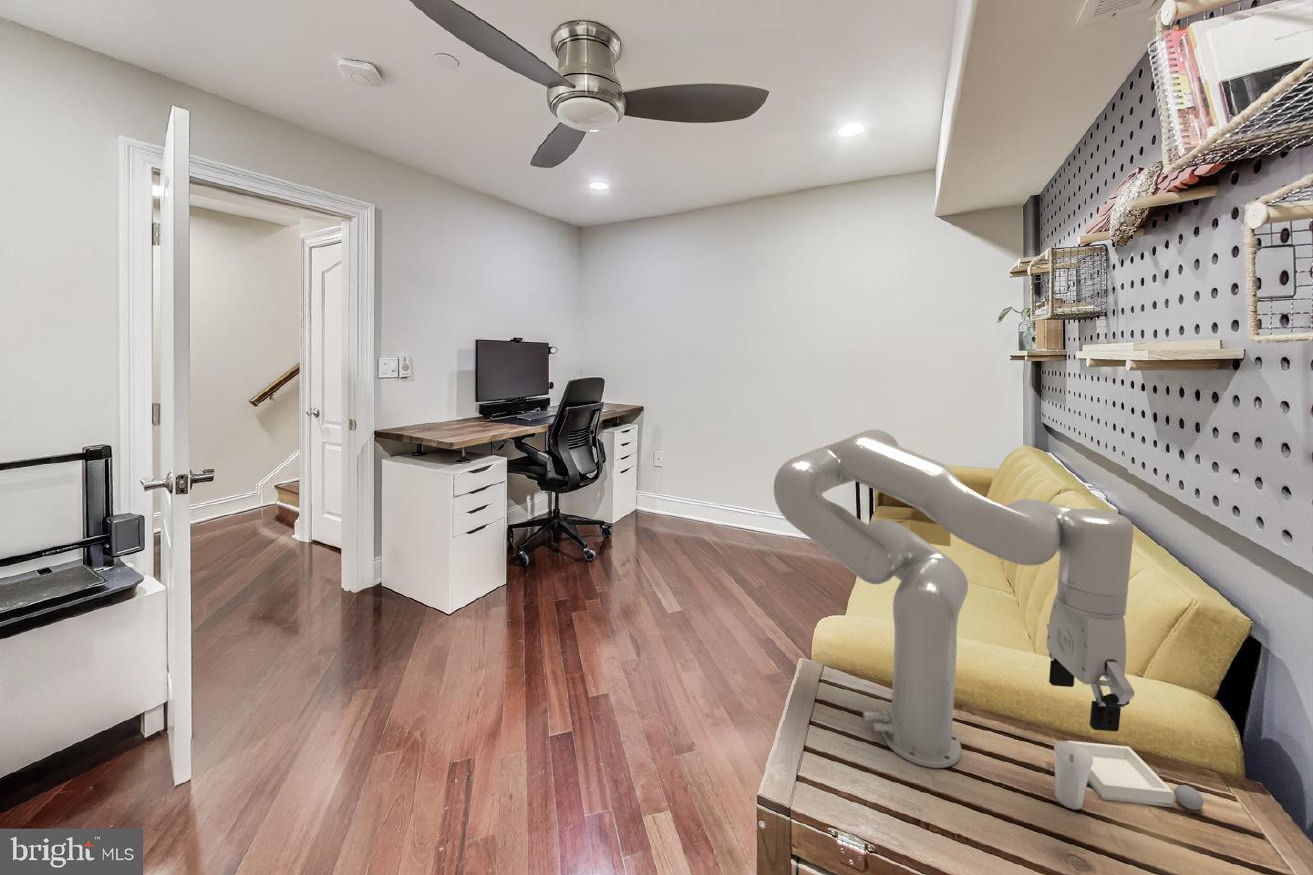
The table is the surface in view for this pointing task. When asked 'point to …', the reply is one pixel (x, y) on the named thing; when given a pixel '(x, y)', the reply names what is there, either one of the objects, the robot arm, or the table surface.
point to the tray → (1125, 776)
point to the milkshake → (1071, 773)
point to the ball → (1188, 797)
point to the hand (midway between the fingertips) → (1081, 705)
